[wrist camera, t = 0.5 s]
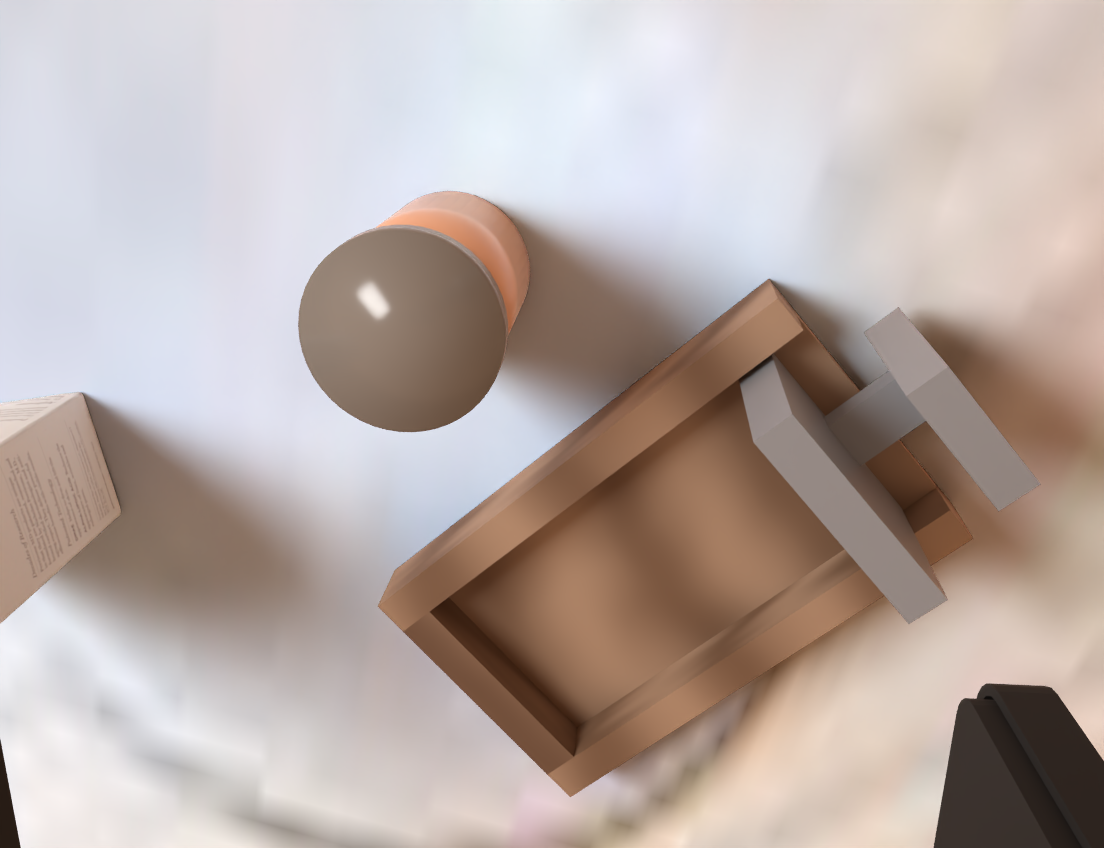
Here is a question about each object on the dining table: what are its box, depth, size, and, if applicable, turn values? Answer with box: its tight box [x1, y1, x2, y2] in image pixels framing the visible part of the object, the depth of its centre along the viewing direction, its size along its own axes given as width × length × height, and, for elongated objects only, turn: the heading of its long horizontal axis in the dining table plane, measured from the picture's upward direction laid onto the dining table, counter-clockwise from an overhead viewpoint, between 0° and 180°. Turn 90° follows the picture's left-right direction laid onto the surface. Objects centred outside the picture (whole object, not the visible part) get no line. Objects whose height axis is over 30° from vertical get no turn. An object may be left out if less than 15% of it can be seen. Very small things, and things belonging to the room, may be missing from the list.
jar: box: [298, 191, 530, 432], centre depth 36 cm, size 6×6×9 cm
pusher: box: [739, 307, 1040, 624], centre depth 36 cm, size 6×8×7 cm
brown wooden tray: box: [378, 279, 973, 797], centre depth 42 cm, size 20×12×3 cm, turn 131°
